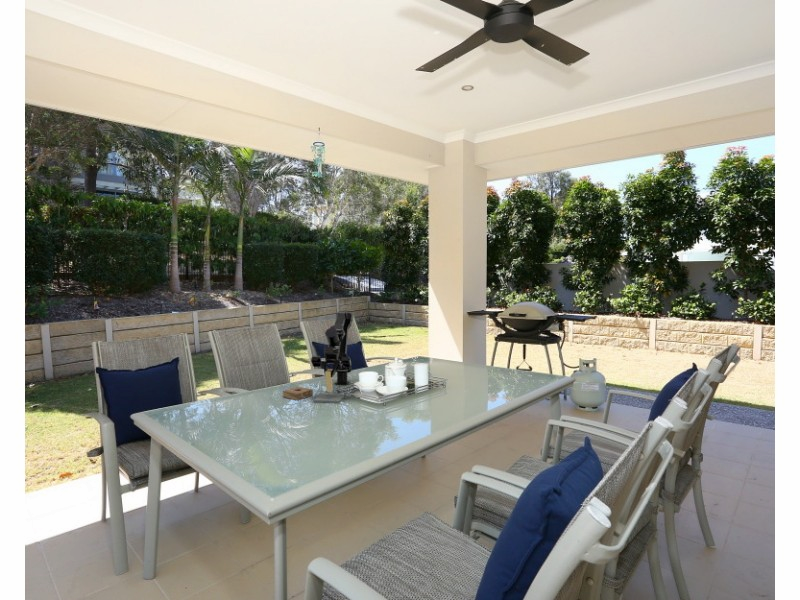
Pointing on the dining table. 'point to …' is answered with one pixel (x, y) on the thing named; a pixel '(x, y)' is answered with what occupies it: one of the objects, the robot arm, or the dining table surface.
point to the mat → (328, 398)
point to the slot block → (298, 393)
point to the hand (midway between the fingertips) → (328, 377)
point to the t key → (328, 380)
